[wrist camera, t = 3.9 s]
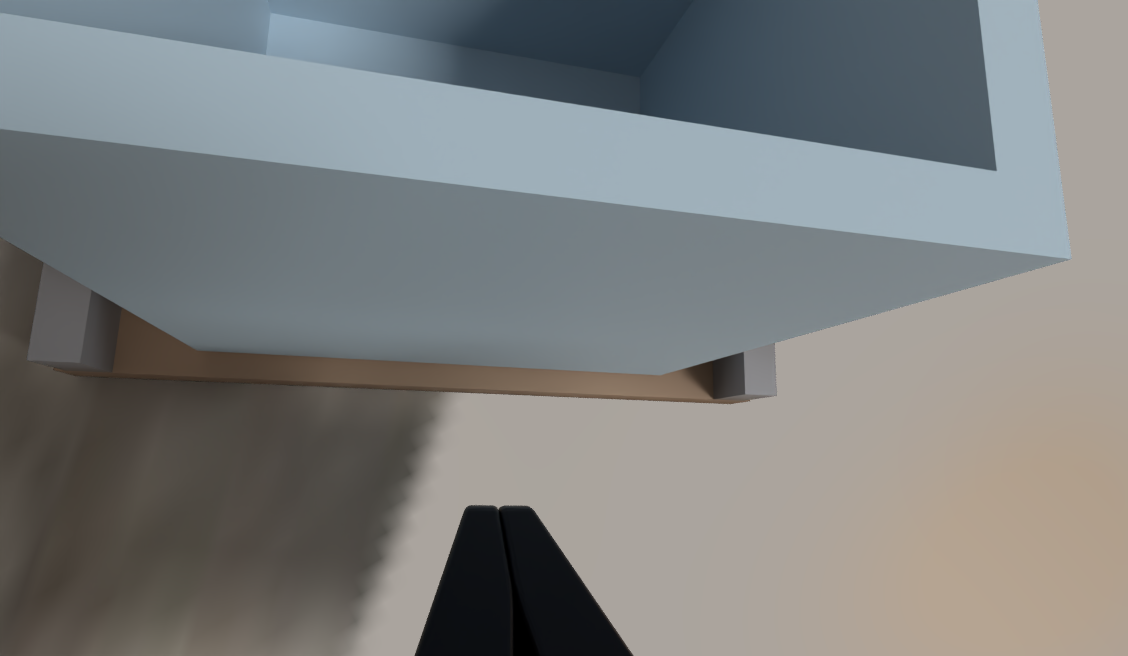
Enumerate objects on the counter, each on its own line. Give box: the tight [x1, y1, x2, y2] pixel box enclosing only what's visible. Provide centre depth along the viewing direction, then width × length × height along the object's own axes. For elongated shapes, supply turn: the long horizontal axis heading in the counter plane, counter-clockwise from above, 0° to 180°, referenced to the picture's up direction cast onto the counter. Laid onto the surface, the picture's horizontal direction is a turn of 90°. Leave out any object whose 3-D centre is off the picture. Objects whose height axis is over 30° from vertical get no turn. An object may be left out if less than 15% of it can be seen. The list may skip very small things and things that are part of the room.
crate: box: [0, 0, 1071, 375], centre depth 11 cm, size 8×10×10 cm
